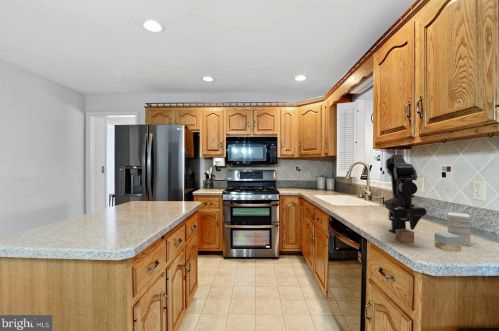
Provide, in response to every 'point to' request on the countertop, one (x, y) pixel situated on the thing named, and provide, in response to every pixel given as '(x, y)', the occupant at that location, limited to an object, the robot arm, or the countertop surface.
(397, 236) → the walnut cube
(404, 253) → the countertop surface
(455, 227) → the supplement box
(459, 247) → the tower base
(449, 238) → the tower mid
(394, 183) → the robot arm
